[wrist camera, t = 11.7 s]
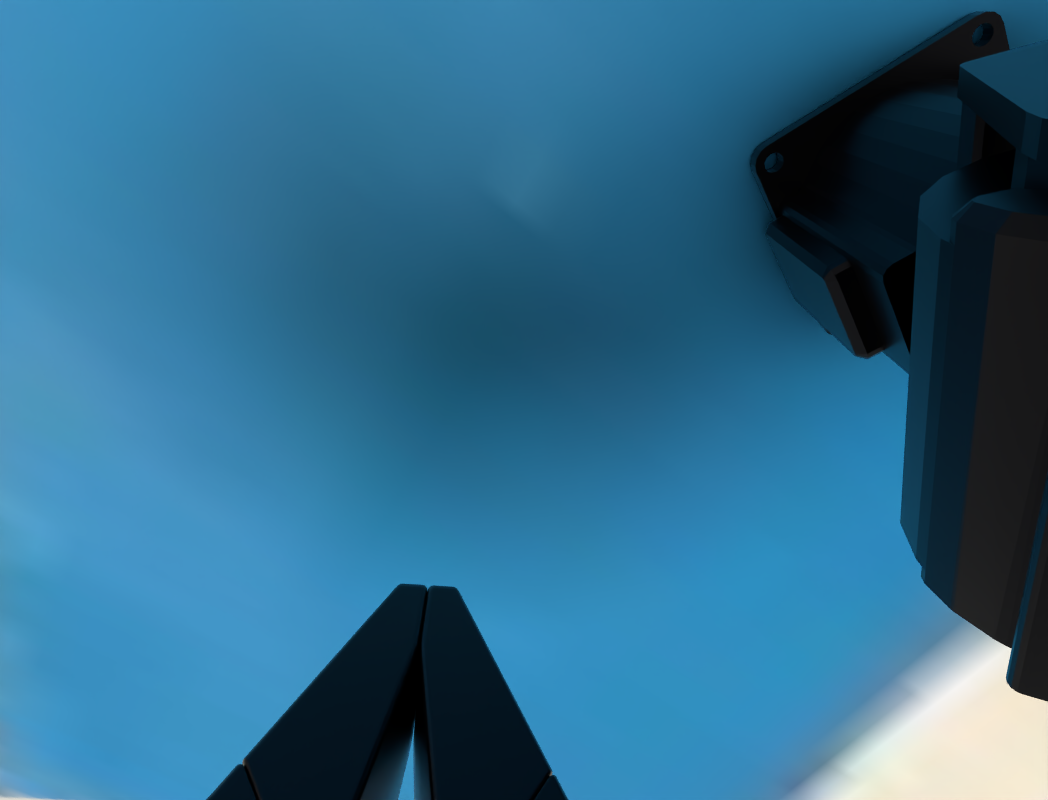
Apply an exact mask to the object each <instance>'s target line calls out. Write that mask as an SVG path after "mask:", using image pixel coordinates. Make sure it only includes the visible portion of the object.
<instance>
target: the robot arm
mask: <svg viewBox="0 0 1048 800" xmlns="http://www.w3.org/2000/svg"><path fill="white" fill-rule="evenodd" d="M980 25H981V26H982V27H983V35H982V37H981V39H980V40H979V41H978V42H977V43H976V44H975V45H974V44H973V42H972V35H973V33H974V31H975V29H976V28H977V27H978V26H980ZM775 152H776V153H777V154H778V161H777V163H776V165H775V166H774V167H773V168H771V169H768V170H766V169H765V165H764V163H765V160H766V158H767V157H768V156H769V155H770V154H772V153H775ZM750 165H751V170H752V172H753V175H754V177H755V179H756V181H757V184H758V186H759V188H760V190H761V193H762V195H763V197H764V200H765V202H766V204H767V206H768V209H769V211H770V213H771V215H772V218H773V221H771V222H770V223H768V226H767V230H766V233H765V235H766V237H767V239H768V241H769V244H770V246H771V248H772V250H773V252H774V255H775V257H776V259H777V261H778V263H779V266H780V268H781V270H782V272H783V275H784V277H785V279H786V281H787V283H788V286H789V288H790V290H791V292H792V294H793V297H794V299H795V300H796V301H797V302H798V303H799V304H800V305H801V306H802V307H803V308H804V309H805V310H806V311H807V312H809V313H810V314H811V315H812V316H813V317H814V318H815V319H816V320H817V321H818V322H819V324H820V325H821V327H822V328H823V329H824V330H825V331H826V332H827V333H829V334H831V335H833V336H834V337H835V338H836V339H837V340H838V341H840V342H841V343H842V344H843V345H844V346H845V347H846V348H847V349H848V350H849V351H850V352H851V353H852V354H853V355H854V356H857V357H861V358H865V359H869V358H871V357H873V356H875V355H877V354H879V353H881V352H883V353H884V354H886V355H887V356H888V357H889V358H890V359H891V360H893V361H894V362H895V363H896V364H897V365H898V366H900V367H901V368H902V369H903V370H904V371H905V372H907V373H908V374H909V382H908V400H907V417H906V434H905V451H904V468H903V485H902V502H901V520H900V523H901V526H902V528H903V530H904V533H905V535H906V537H907V539H908V542H909V544H910V546H911V549H912V551H913V553H914V556H915V558H916V559H917V561H918V562H919V563H920V565H921V566H922V571H921V577H922V579H923V581H924V583H925V584H926V585H927V586H928V587H929V588H930V589H931V590H932V591H933V592H934V593H935V594H936V595H937V596H938V597H939V598H940V599H941V600H942V601H943V602H944V603H945V604H946V605H947V606H948V607H949V608H950V609H951V610H952V611H953V612H955V613H956V614H958V615H959V616H961V617H962V618H964V619H965V620H967V621H968V622H970V623H971V624H973V625H974V626H975V627H977V628H978V629H980V630H981V631H983V632H984V633H986V634H987V635H989V636H990V637H992V638H993V639H995V640H996V641H998V642H1000V643H1002V644H1004V645H1005V646H1008V647H1010V648H1012V650H1011V655H1010V660H1009V665H1008V670H1007V675H1006V680H1007V683H1008V684H1009V686H1010V687H1011V688H1012V689H1014V690H1015V691H1017V692H1019V693H1021V694H1024V695H1027V696H1031V697H1034V698H1038V699H1041V700H1044V701H1048V40H1044V41H1041V42H1037V43H1033V44H1030V45H1026V46H1022V47H1019V48H1015V49H1011V50H1010V49H1009V45H1008V40H1007V35H1006V31H1005V26H1004V22H1003V20H1002V18H1001V16H1000V15H999V14H997V13H996V12H974V13H972V14H970V15H967V16H966V17H964V18H963V19H961V20H959V21H958V22H956V23H955V24H953V25H951V26H950V27H948V28H947V29H945V30H943V31H942V32H940V33H938V34H937V35H935V36H934V37H932V38H930V39H929V40H927V41H926V42H924V43H922V44H921V45H919V46H918V47H916V48H914V49H913V50H911V51H910V52H908V53H906V54H905V55H903V56H902V57H900V58H898V59H897V60H895V61H893V62H892V63H890V64H889V65H887V66H885V67H884V68H882V69H881V70H879V71H877V72H876V73H874V74H873V75H871V76H869V77H868V78H866V79H865V80H863V81H861V82H860V83H858V84H857V85H855V86H853V87H852V88H850V89H849V90H847V91H845V92H844V93H842V94H840V95H839V96H837V97H836V98H834V99H832V100H831V101H829V102H828V103H826V104H824V105H823V106H821V107H820V108H818V109H816V110H815V111H813V112H812V113H810V114H808V115H807V116H805V117H804V118H802V119H800V120H799V121H797V122H795V123H794V124H792V125H791V126H789V127H787V128H786V129H784V130H783V131H781V132H779V133H778V134H776V135H775V136H773V137H771V138H770V139H768V140H767V141H765V142H763V143H762V144H761V145H759V146H758V147H757V148H756V149H755V151H754V153H753V154H752V156H751V162H750ZM414 722H415V726H414ZM413 729H414V753H413V758H414V800H568V798H567V797H566V795H565V793H564V791H563V789H562V787H561V785H560V783H559V781H558V779H557V777H556V776H555V775H552V769H551V767H550V766H549V764H548V762H547V760H546V758H545V756H544V754H543V752H542V750H541V748H540V746H539V744H538V742H537V741H536V739H535V737H534V735H533V733H532V731H531V729H530V727H529V725H528V723H527V721H526V719H525V717H524V716H523V714H522V712H521V710H520V708H519V706H518V704H517V702H516V700H515V698H514V696H513V694H512V692H511V691H510V689H509V687H508V685H507V683H506V681H505V679H504V677H503V675H502V673H501V671H500V669H499V667H498V666H497V664H496V662H495V660H494V658H493V656H492V654H491V652H490V650H489V648H488V646H487V644H486V642H485V641H484V639H483V637H482V635H481V633H480V631H479V629H478V627H477V625H476V623H475V621H474V619H473V618H472V616H471V614H470V612H469V610H468V608H467V606H466V604H465V602H464V600H463V598H462V596H461V594H460V593H459V591H458V590H457V588H455V587H448V586H431V587H429V589H428V592H427V587H426V586H425V585H416V584H400V585H398V586H397V587H396V588H395V589H394V590H393V591H392V592H391V593H390V595H389V596H388V597H387V598H386V599H385V600H384V601H383V602H382V604H381V605H380V606H379V607H378V608H377V609H376V610H375V612H374V613H373V614H372V615H371V616H370V617H369V618H368V619H367V621H366V622H365V623H364V624H363V625H362V626H361V627H360V628H359V630H358V631H357V632H356V633H355V634H354V635H353V636H352V637H351V639H350V640H349V641H348V642H347V643H346V644H345V645H344V646H343V648H342V649H341V650H340V651H339V652H338V653H337V654H336V655H335V657H334V658H333V659H332V660H331V661H330V662H329V663H328V664H327V666H326V667H325V668H324V669H323V670H322V671H321V672H320V674H319V675H318V676H317V677H316V678H315V679H314V680H313V681H312V683H311V684H310V685H309V686H308V687H307V688H306V689H305V690H304V692H303V693H302V694H301V695H300V696H299V697H298V698H297V699H296V701H295V702H294V703H293V704H292V705H291V706H290V707H289V708H288V710H287V711H286V712H285V713H284V714H283V715H282V716H281V717H280V719H279V720H278V721H277V722H276V723H275V724H274V725H273V726H272V728H271V729H270V730H269V731H268V732H267V733H266V734H265V736H264V737H263V738H262V739H261V740H260V741H259V742H258V743H257V745H256V746H255V747H254V748H253V749H252V750H251V751H250V752H249V754H248V755H247V756H246V757H245V758H244V759H243V762H242V763H243V765H242V764H238V765H237V766H236V767H235V768H234V769H233V770H232V771H231V773H230V774H229V775H228V776H227V777H226V778H225V779H224V780H223V782H222V783H221V784H220V785H219V786H218V787H217V788H216V790H215V791H214V792H213V793H212V794H211V795H210V796H209V797H208V798H207V799H206V800H398V797H399V793H400V789H401V785H402V780H403V776H404V772H405V768H406V764H407V760H408V756H409V751H410V746H411V741H412V736H413Z"/></svg>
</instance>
